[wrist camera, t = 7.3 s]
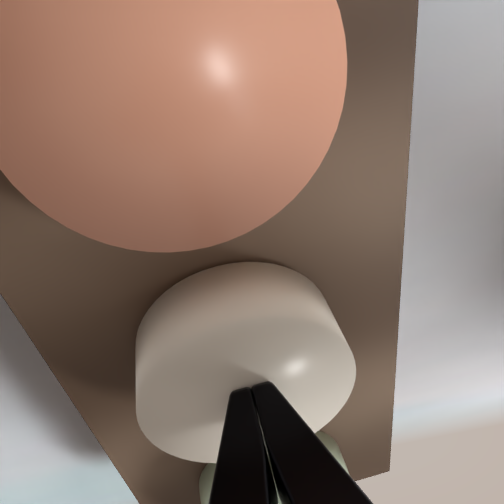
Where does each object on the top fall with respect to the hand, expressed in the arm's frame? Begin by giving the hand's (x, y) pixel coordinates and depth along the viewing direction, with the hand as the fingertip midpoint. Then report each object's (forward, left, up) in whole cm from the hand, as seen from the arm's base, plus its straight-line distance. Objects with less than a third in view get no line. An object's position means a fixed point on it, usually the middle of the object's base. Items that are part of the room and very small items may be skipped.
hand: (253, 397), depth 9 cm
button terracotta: (+4, -5, -2) cm, 6 cm away
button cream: (0, 0, -2) cm, 2 cm away
